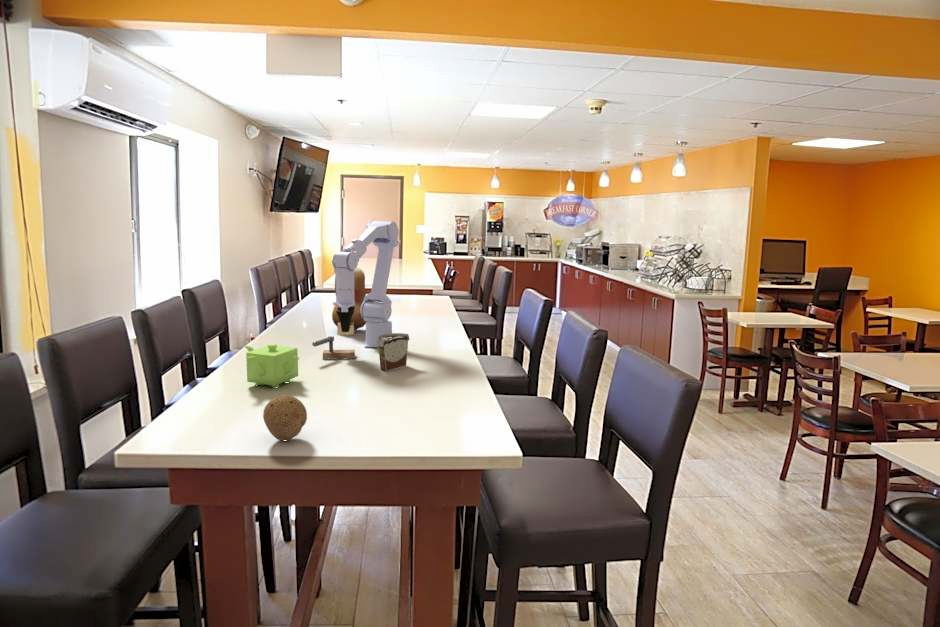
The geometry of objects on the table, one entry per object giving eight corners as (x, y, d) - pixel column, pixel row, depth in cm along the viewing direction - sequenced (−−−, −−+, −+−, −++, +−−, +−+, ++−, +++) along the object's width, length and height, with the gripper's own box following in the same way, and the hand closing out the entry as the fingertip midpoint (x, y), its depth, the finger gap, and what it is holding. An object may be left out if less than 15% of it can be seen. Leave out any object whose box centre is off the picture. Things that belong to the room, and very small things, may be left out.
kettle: (248, 394, 168) (246, 352, 166) (241, 380, 181) (239, 341, 179) (305, 387, 175) (304, 347, 173) (295, 374, 187) (293, 337, 185)
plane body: (355, 355, 212) (355, 339, 211) (354, 358, 207) (354, 342, 206) (323, 355, 210) (323, 339, 209) (322, 359, 205) (321, 343, 204)
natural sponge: (280, 429, 143) (279, 387, 141) (315, 435, 140) (314, 391, 139) (255, 444, 134) (254, 399, 133) (292, 450, 132) (291, 403, 130)
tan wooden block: (353, 331, 211) (353, 322, 210) (353, 334, 206) (353, 325, 205) (338, 331, 210) (338, 322, 210) (337, 334, 205) (337, 325, 205)
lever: (316, 347, 198) (315, 342, 198) (310, 346, 199) (310, 341, 199) (335, 341, 208) (335, 336, 207) (330, 340, 208) (330, 335, 208)
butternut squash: (332, 335, 242) (331, 269, 237) (331, 328, 254) (330, 265, 250) (369, 334, 245) (369, 269, 240) (366, 327, 258) (366, 265, 253)
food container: (394, 361, 205) (394, 331, 203) (409, 364, 201) (409, 333, 200) (367, 369, 195) (367, 337, 193) (382, 372, 191) (382, 340, 190)
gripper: (334, 285, 212) (334, 325, 214) (331, 292, 198) (332, 334, 200) (355, 285, 213) (356, 325, 215) (354, 292, 199) (354, 334, 201)
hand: (345, 330), depth 208 cm, fingers closed on tan wooden block, 5 cm apart
